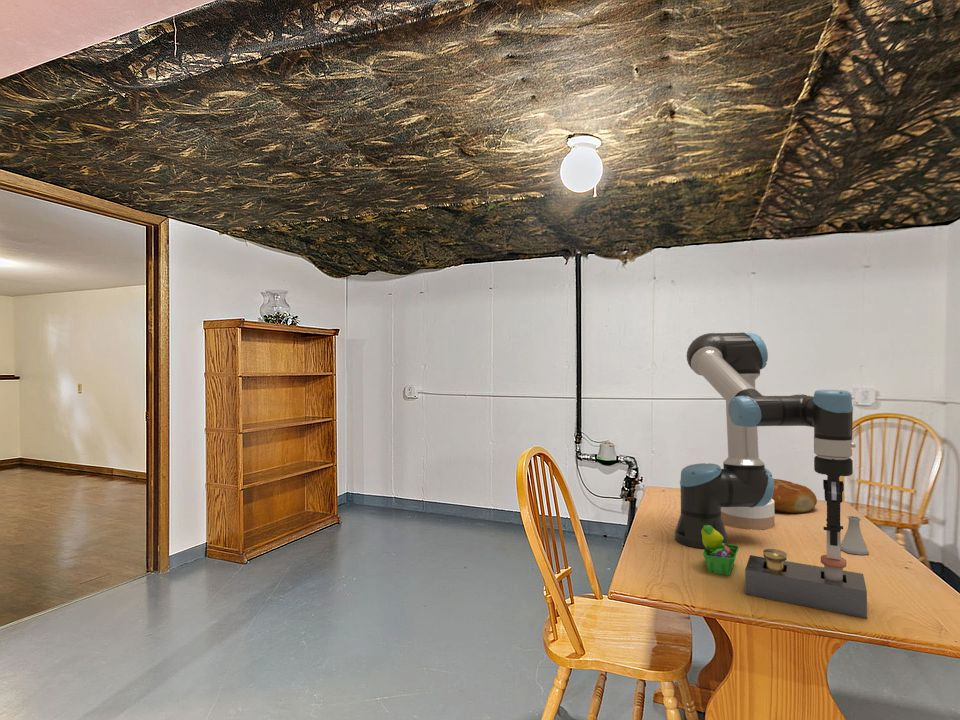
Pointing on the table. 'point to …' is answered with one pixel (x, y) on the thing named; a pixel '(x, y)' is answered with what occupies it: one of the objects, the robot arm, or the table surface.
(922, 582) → the table surface
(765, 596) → the block
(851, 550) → the flask
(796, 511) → the bread
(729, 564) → the fruit basket
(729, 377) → the robot arm
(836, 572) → the red plunger
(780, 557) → the brass plunger
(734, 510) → the bowl
